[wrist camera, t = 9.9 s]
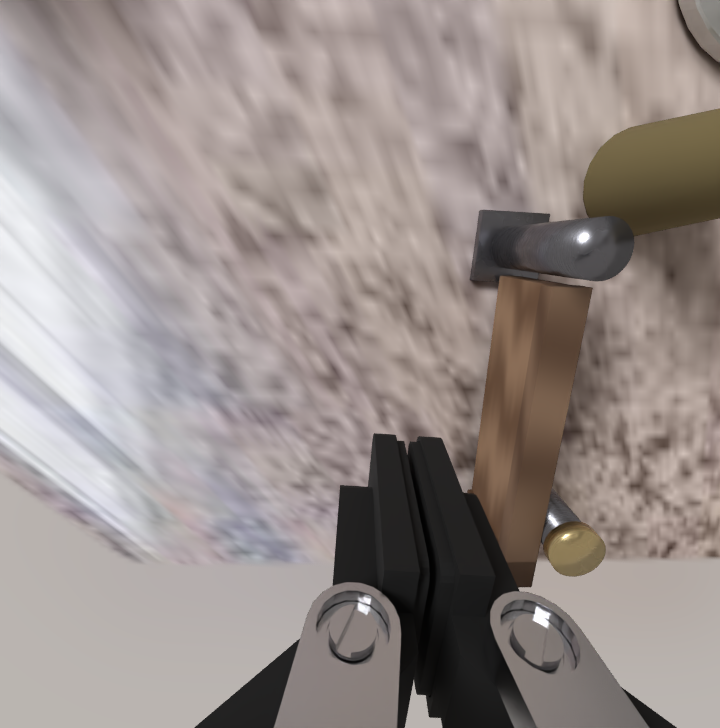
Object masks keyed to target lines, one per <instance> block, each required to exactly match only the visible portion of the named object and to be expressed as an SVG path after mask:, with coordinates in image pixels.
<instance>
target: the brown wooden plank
mask: <svg viewBox="0 0 720 728" xmlns="http://www.w3.org/2000/svg"><path fill="white" fill-rule="evenodd" d="M592 289H593V288H590V287H585V286H576V285H567V284H562V283H556V282H550V281H545V280H539V279H533V278H528V277H522V276H500V279H499V287H498V295H497V302H496V310H495V318H494V325H493V333H492V340H491V348H490V356H489V363H488V371H487V379H486V386H485V394H484V402H483V409H482V417H481V424H480V432H479V440H478V447H477V455H476V463H475V470H474V478H473V486H472V490H468V492H467V493H474V494H475V495H477V497H478V499H479V500H480V503H481V505H482V507H483V510H484V512H485V514H486V516H487V519H488V521H489V523H490V525H491V528H492V530H493V532H494V535H495V537H496V539H497V541H498V544H499V546H500V548H501V550H502V553H503V555H504V557H505V560H506V562H507V564H508V566H509V569H510V571H511V573H512V575H513V578H514V580H515V582H516V584H517V587H531V586H532V581H533V576H534V572H535V567H536V562H537V557H538V552H539V547H540V543H541V538H542V533H543V528H544V523H545V518H546V513H547V508H548V504H549V499H550V494H551V489H552V484H553V479H554V474H555V469H556V464H557V460H558V455H559V450H560V445H561V440H562V435H563V430H564V425H565V421H566V416H567V411H568V406H569V401H570V396H571V391H572V386H573V382H574V377H575V372H576V367H577V362H578V357H579V352H580V347H581V342H582V338H583V333H584V328H585V323H586V318H587V313H588V308H589V303H590V299H591V294H592Z"/></svg>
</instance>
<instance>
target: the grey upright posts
mask: <svg viewBox="0 0 720 728" xmlns="http://www.w3.org/2000/svg"><path fill="white" fill-rule="evenodd" d="M549 217H550V214H542V213H526V212H510V211H494V210H480V211H479V218H478V225H477V232H476V239H475V247H474V254H473V261H472V268H471V276H470V280H476V281H495V282H499V279H500V276H522V277H528V278H533V279H538V275H539V273H541V274H548V275H555V276H562V277H569V278H576V279H583V280H590V281H604V280H607V279H610V278H612V277H614V276H616V275H617V274H618V273H620V272H621V271H622V270H623V269H624V268H625V266H626V265H627V264H628V262H629V260H630V258H631V256H632V253H633V249H634V236H633V232H632V230H631V228H630V226H629V225H628V224H627V223H626V222H625V221H624V220H622V219H620V218H618V217H614V216H603V217H594V218H585V219H576V220H567V221H558V222H549ZM541 542H542V544H543V550H544V553H545V555H546V557H547V558H548V560H549V561H550V563H551V565H552V566H553V568H554V569H555V570H556V571H557V572H559V573H560V574H562V575H565V576H580V575H584V574H586V573H589V572H591V571H592V570H594V569H595V568H596V567H597V566H598V565H599V564H600V563H601V562H602V560H603V558H604V556H605V550H606V549H605V544H604V542H603V540H602V539H601V538H600V537H599V536H598V535H597V533H596V532H595V531H594V530H593V529H592V528H591V527H590V526H589V525H587V524H586V523H583V522H581V521H580V520H579V519H578V517H577V516H576V515H575V514H574V513H573V512H572V510H571V509H570V508H569V507H568V506H567V505H566V503H565V502H564V501H563V500H562V499H561V498H560V496H559V495H558V494H557V493H556V492H555V491H554V489H553V488H552V489H551V494H550V499H549V504H548V508H547V513H546V518H545V523H544V528H543V533H542V538H541Z"/></svg>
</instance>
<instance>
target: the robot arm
mask: <svg viewBox="0 0 720 728" xmlns="http://www.w3.org/2000/svg"><path fill="white" fill-rule="evenodd" d="M678 1H679V6H680V9H681V11H682V14H683V16H684V19H685V21H686V24H687V26H688V29H689V30H690V32H691V33H692V35H693V36H694V38H695V39H696V41H697V42H698V44H699V45H700V47H701V48H703V49H704V50H705V51H706V52H707V53H708V54H709V55H710V56H711V57H713V58H714V59H715V60H716V61H718V62H720V0H678ZM413 680H414V682H415V689H416V693H417V695H426V699H427V706H428V713H429V717H433V718H441V721H442V726H443V728H676V727H675V726H673V725H672V724H671V723H669V722H668V721H667V720H665V719H664V718H663V717H661V716H660V715H659V714H657V713H656V712H654V711H653V710H652V709H650V708H649V707H647V706H646V705H645V704H644V703H642V702H641V701H639V700H638V699H637V698H635V697H634V696H632V695H631V694H630V693H628V692H627V691H626V690H624V689H623V688H622V687H621V686H620V685H619V684H618V682H617V681H616V679H615V678H614V676H613V675H612V673H611V672H610V670H609V669H608V668H607V666H606V665H605V663H604V662H603V660H602V659H601V658H600V656H599V655H598V653H597V652H596V650H595V649H594V648H593V646H592V645H591V643H590V642H589V640H588V639H587V638H586V636H585V635H584V633H583V632H582V630H581V629H580V628H579V627H578V625H577V624H576V623H575V622H574V621H573V619H572V618H571V617H570V616H569V615H568V614H567V613H566V612H564V611H563V610H562V609H561V608H559V607H558V606H557V605H556V604H554V603H552V602H550V601H548V600H547V599H545V598H543V597H541V596H538V595H535V594H532V593H529V592H520V591H519V589H518V587H517V584H516V582H515V580H514V578H513V575H512V573H511V571H510V569H509V566H508V564H507V562H506V560H505V557H504V555H503V553H502V550H501V548H500V546H499V544H498V541H497V539H496V537H495V535H494V532H493V530H492V528H491V525H490V523H489V521H488V519H487V516H486V514H485V512H484V510H483V507H482V505H481V503H480V500H479V499H478V497H477V495H475V494H474V493H463V492H462V489H461V486H460V484H459V481H458V479H457V476H456V474H455V471H454V468H453V466H452V463H451V461H450V458H449V456H448V453H447V451H446V448H445V445H444V443H443V440H442V439H441V438H436V437H421V436H419V437H418V439H417V442H410V443H409V448H408V455H407V453H406V448H405V443H404V441H397V438H396V435H390V434H375V433H374V435H373V442H372V452H371V462H370V472H369V482H368V487H360V486H344V485H340V496H339V509H338V522H337V536H336V549H335V562H334V576H333V586H332V587H330V588H329V589H327V590H325V591H323V592H322V593H321V594H320V595H319V596H318V597H317V599H316V600H315V601H314V602H313V603H312V606H311V608H310V610H309V612H308V614H307V617H306V621H305V624H304V627H303V631H302V634H301V638H300V639H299V640H297V642H295V643H294V644H293V645H292V646H291V647H289V648H288V649H287V650H286V651H284V652H283V653H282V654H281V655H280V656H279V657H277V658H276V659H275V660H274V661H273V662H271V663H270V664H269V665H268V666H267V667H266V668H264V669H263V670H262V671H261V672H260V673H259V674H257V675H256V676H255V677H254V678H253V679H251V680H250V681H249V682H248V683H247V684H245V685H244V686H243V687H242V688H241V689H240V690H238V691H237V692H236V693H235V694H234V695H232V696H231V697H230V698H229V699H228V700H227V701H225V702H224V703H223V704H222V705H221V706H219V707H218V708H217V709H216V710H215V711H214V712H212V713H211V714H210V715H209V716H208V717H206V718H205V719H204V720H203V721H202V722H200V723H199V724H198V725H197V726H196V727H195V728H404V727H405V723H406V717H407V712H408V707H409V701H410V696H411V691H412V686H413Z"/></svg>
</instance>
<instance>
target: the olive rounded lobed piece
mask: <svg viewBox="0 0 720 728" xmlns="http://www.w3.org/2000/svg"><path fill="white" fill-rule="evenodd" d="M583 200H584V204H585V208H586V212H587V215H588V216H589V218H594V217H603V216H614V217H618V218H620V219H622V220H624V221H625V222H626V223H627V224H628V225H629V226H630V228H631V230H632V232H633V236H637V235H642V234H647V233H651V232H656V231H661V230H666V229H670V228H675V227H680V226H685V225H689V224H694V223H699V222H704V221H708V220H713V219H718V218H720V109H715V110H710V111H706V112H701V113H696V114H691V115H687V116H682V117H677V118H672V119H668V120H663V121H658V122H654V123H649V124H644V125H639V126H635V127H630V128H628V129H626V130H624V131H622V132H620V133H618V134H616V135H614V136H613V137H612V138H611V139H610V140H609V141H607V142H606V143H605V144H604V145H603V146H602V147H601V148H600V149H599V151H598V152H597V154H596V155H595V157H594V158H593V160H592V161H591V163H590V165H589V168H588V171H587V174H586V177H585V180H584V191H583Z"/></svg>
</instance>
